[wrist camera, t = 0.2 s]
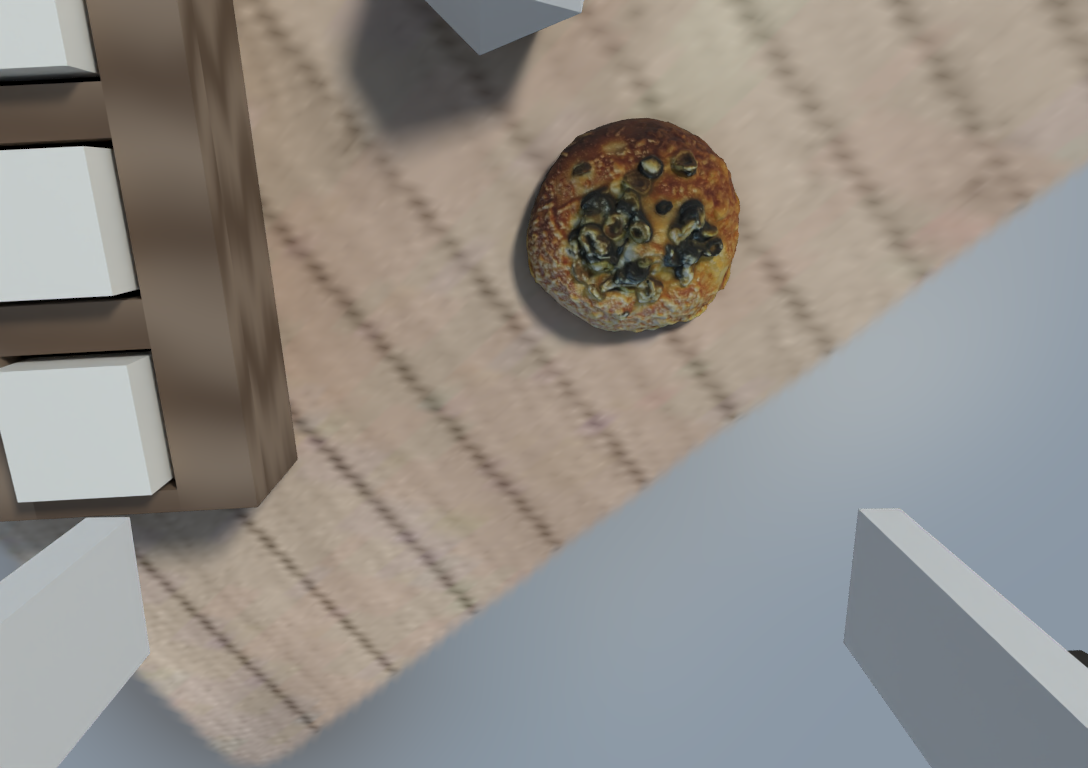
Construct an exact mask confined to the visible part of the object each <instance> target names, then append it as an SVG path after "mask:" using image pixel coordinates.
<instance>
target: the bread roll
mask: <svg viewBox="0 0 1088 768" xmlns="http://www.w3.org/2000/svg"><path fill="white" fill-rule="evenodd" d="M739 204H740V202H739V199H738V197H737V195H736V193H735V190H734V187H733V184H732V181H731V174H730V171H729V170H728V169H727V167H726V163H725V162H724V160H723V159H722V158H720V157H719V156H718V155H717V154H715V153H714V152H713V151H712V149H711V148H710V147H709V145H708V144H707V143H706V142H704V141H703V140H702V139H701V138H700V137H698V136H696V135H694V134H692V133H690V132H688V131H687V130H685V129H682V128H680V127H678V126H676V125H674V124H672V123H669V122H664V121H660V120H656V119H651V118H638V119H627V120H621V121H617V122H613V123H610V124H606V125H603V126H601V127H598V128H596V129H594V130H590V131H588V132H586V133H584V134H582V135H579V136H577V137H576V138H575V140H574V141H573V142H572V143H571V144H570V145H569V146H567V147H566V148H565V149H564V150H563V151H562V153H561V154H560V156H559V158H558V159H557V161H556V162H555V164H554V165H553V167H552V168H551V169H550V171H549V173H548V175H547V177H546V179H545V181H544V182H543V183H542V186H541V189H540V191H539V194H538V196H537V198H536V200H535V203H534V207H533V210H532V212H531V217H530V220H529V226H528V229H527V240H526V245H527V253H528V264H529V268H530V272H531V275H532V276H533V277H534V279H535V282H536V283H538V284H540V285H541V286H542V288H543V289H544V290H545V291H546V292H547V293H549V294H550V295H551V296H552V297H553V298H554V300H555V301H556V302H558V303H559V304H560V305H561V306H563V307H564V308H566V309H567V310H568V311H569V312H571V313H573V314H574V315H576V316H578V317H580V318H581V319H583V320H584V321H586V322H588V323H589V324H590V325H592V326H594V327H596V328H600V329H604V330H606V331H613V332H615V331H622V330H628V331H633V332H642V331H644V330H647V329H648V330H656V329H658V328H660V327H664V326H667V325H673V324H675V323H677V322H678V321H681V322H686V321H690V320H692V319H694V318H696V317H698V316H700V315H701V314H702V313H703V312H704V311H705V310H706V309H707V305H708V304H710V303H711V302H712V301H713V300H714V298H715V296H716V293H717V292H718V291H719V290H722V289H724V287H725V285H726V283H727V281H728V279H729V276H730V267H731V262H732V259H733V257H734V254H735V252H736V246H737V243H738V236H739V233H738V223H739V218H738V214H739V212H740V205H739Z"/></svg>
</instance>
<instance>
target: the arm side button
mask: <svg viewBox="0 0 1088 768" xmlns="http://www.w3.org/2000/svg"><path fill="white" fill-rule="evenodd" d="M90 77H100V73H99V68H98V62H97V57H96V52H95V46H94V41H93V36H92V30H91V25H90V20H89V14H88V9H87V4H86V0H0V82H10V81H30V80H50V79H70V78H90Z"/></svg>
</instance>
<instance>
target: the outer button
mask: <svg viewBox="0 0 1088 768" xmlns="http://www.w3.org/2000/svg"><path fill="white" fill-rule="evenodd" d="M0 432H1V436H2V440H3V445H4V449H5V453H6V457H7V461H8V465H9V469H10V473H11V477H12V481H13V485H14V489H15V493H16V497H17V502H18V503H19V502H37V501H54V500H72V499H90V498H108V497H126V496H144V495H153V494H154V493H155V492H156V491H157V490H159V489H160V488H161V487H162V486H164V485H165V484H166V483H167V482H168V481H170V480H171V479H172V478H173V477H174V476H175V475H174V469H173V464H172V459H171V453H170V448H169V443H168V437H167V432H166V427H165V421H164V416H163V411H162V405H161V400H160V394H159V389H158V384H157V378H156V373H155V368H154V362H153V357H152V352H151V351H144V352H126V353H107V354H89V355H70V356H52V357H33V358H28V359H25V360H22V361H19V362H16V363H13V364H11V365H8V366H5V367H2V368H0Z"/></svg>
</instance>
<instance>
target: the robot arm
mask: <svg viewBox="0 0 1088 768" xmlns="http://www.w3.org/2000/svg"><path fill="white" fill-rule="evenodd" d="M844 644H845V645H846V647H847V648H848V649H849V651H850V652H851V654H852V655H853V656H854V658H855V659H856V661H857V662H858V664H859V665H860V667H861V668H862V669H863V671H864V672H865V674H866V675H867V676H868V678H869V679H870V681H871V682H872V683H873V685H874V686H875V688H876V689H877V691H878V692H879V694H880V695H881V696H882V698H883V699H884V701H885V702H886V704H887V705H888V706H889V708H890V709H891V710H892V712H893V713H894V715H895V716H896V718H897V719H898V721H899V722H900V723H901V725H902V726H903V728H904V729H905V731H906V732H907V733H908V735H909V736H910V738H911V739H912V740H913V742H914V743H915V745H916V746H917V748H918V749H919V750H920V752H921V753H922V755H923V756H924V757H925V759H926V760H927V762H928V763H929V765H930V766H931V767H932V768H1088V654H1087V653H1085V652H1083V651H1081V650H1079V651H1078V650H1076V651H1067V650H1066V649H1065V648H1063V647H1062V646H1061V645H1060V644H1058V643H1057V642H1056V641H1055V640H1054V639H1053V638H1052V637H1050V636H1049V635H1048V634H1047V633H1046V632H1044V631H1043V630H1042V629H1041V628H1040V627H1039V626H1037V625H1036V624H1035V623H1034V622H1033V621H1032V620H1030V619H1029V618H1028V617H1027V616H1026V615H1025V614H1023V613H1022V612H1021V611H1020V610H1019V609H1017V608H1016V607H1015V606H1014V605H1013V604H1012V603H1010V602H1009V601H1008V600H1007V599H1006V598H1004V597H1003V596H1002V595H1001V594H1000V593H998V591H996V590H995V589H994V588H993V587H992V586H990V585H989V584H988V583H987V582H986V581H985V580H983V579H982V578H981V577H980V576H979V575H978V574H976V573H975V572H974V571H973V570H972V569H970V568H969V567H968V566H967V565H966V564H964V563H963V562H962V561H961V560H960V559H959V558H958V557H956V556H955V555H954V554H953V553H952V552H950V551H949V550H948V549H947V548H946V547H944V546H943V545H942V544H941V543H940V542H939V541H938V540H936V539H935V538H934V537H933V536H932V535H930V534H929V533H928V532H927V531H926V530H925V529H923V528H922V527H921V526H920V525H919V524H917V523H916V522H915V521H914V520H913V519H911V518H910V517H909V516H908V515H907V514H906V513H905V512H903V511H902V510H901V509H899V508H898V509H858V517H857V526H856V534H855V544H854V552H853V561H852V571H851V580H850V589H849V598H848V607H847V616H846V625H845V634H844ZM149 654H150V649H149V642H148V635H147V629H146V622H145V615H144V609H143V602H142V595H141V589H140V582H139V575H138V569H137V562H136V556H135V549H134V542H133V536H132V529H131V522H130V517H94V518H85V519H84V520H82V521H81V522H80V523H78V524H77V525H76V526H74V527H73V528H72V529H70V530H69V531H68V532H66V533H65V534H64V535H62V536H61V537H60V538H58V539H57V540H55V541H54V542H53V543H51V544H50V545H49V546H47V547H46V548H45V549H43V550H42V551H41V552H39V553H38V554H37V555H35V556H34V557H33V558H31V559H30V560H29V561H27V562H26V563H25V564H23V565H22V566H21V567H19V568H18V569H17V570H15V571H14V572H13V573H11V574H10V575H9V576H7V577H6V578H4V579H3V580H2V581H1V582H0V768H57V767H58V766H59V765H60V763H61V762H62V761H63V759H64V758H65V757H66V756H67V755H68V754H69V752H70V751H71V750H72V749H73V747H74V746H75V745H76V744H77V742H78V741H79V740H80V739H81V738H82V736H83V735H84V734H85V733H86V731H87V730H88V729H89V728H90V726H91V725H92V724H93V723H94V721H95V720H96V719H97V718H98V717H99V715H100V714H101V713H102V712H103V710H104V709H105V708H106V707H107V705H108V704H109V703H110V702H111V701H112V699H113V698H114V697H115V696H116V694H117V693H118V692H119V691H120V690H121V688H122V687H123V686H124V685H125V683H126V682H127V681H128V680H129V678H130V677H131V676H132V675H133V673H134V672H135V671H136V670H137V669H138V667H139V666H140V665H141V664H142V662H143V661H144V660H145V659H146V657H147V656H148V655H149Z"/></svg>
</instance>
